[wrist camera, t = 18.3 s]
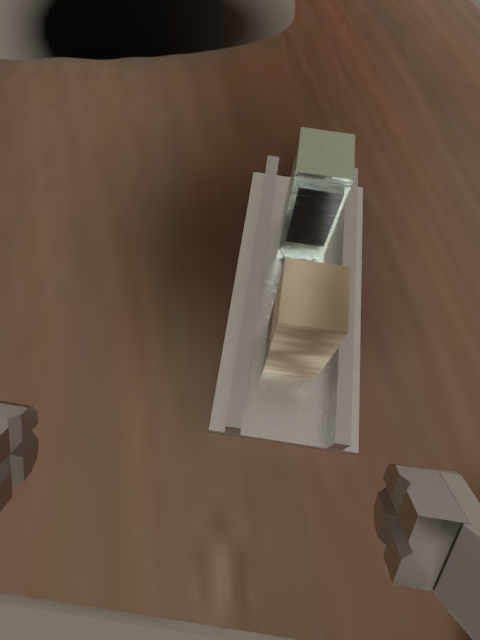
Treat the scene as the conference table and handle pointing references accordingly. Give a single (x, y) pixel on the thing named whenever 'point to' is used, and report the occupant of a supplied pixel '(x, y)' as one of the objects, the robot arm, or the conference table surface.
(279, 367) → the wooden block
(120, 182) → the conference table surface
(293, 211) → the rail
